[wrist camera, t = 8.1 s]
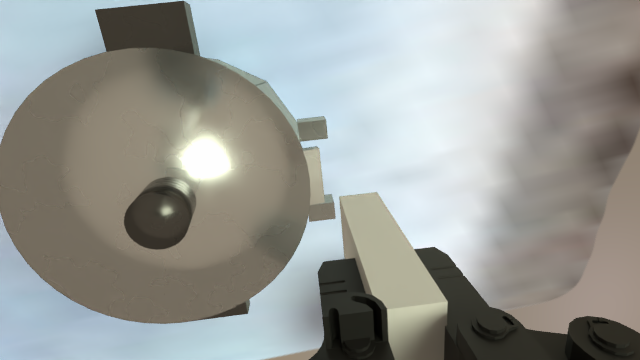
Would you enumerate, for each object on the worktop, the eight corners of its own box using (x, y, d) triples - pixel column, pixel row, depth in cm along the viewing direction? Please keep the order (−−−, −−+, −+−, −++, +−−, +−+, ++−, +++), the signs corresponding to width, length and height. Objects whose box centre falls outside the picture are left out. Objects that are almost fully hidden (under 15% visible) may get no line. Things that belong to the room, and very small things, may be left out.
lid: (-52, 66, 16) (-133, 63, 13) (304, 34, 19) (318, 24, 16) (65, 341, 22) (31, 393, 18) (331, 282, 25) (346, 316, 21)
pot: (81, 34, 27) (-19, 17, 18) (307, 11, 27) (312, -16, 19) (152, 271, 34) (104, 340, 25) (331, 249, 34) (344, 308, 26)
